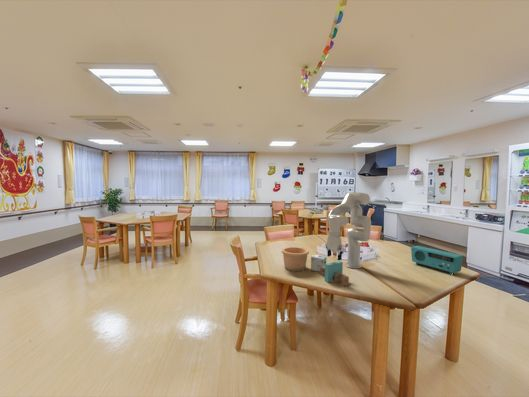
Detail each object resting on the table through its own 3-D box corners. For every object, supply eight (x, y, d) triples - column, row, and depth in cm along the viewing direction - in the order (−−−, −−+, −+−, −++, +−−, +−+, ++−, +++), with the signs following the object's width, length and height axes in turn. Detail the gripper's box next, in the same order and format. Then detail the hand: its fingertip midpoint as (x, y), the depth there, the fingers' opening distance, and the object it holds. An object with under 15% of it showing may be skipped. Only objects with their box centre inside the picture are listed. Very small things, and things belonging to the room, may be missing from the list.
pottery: (306, 274, 180) (306, 255, 179) (278, 270, 187) (278, 252, 186) (310, 265, 200) (310, 248, 199) (284, 262, 207) (285, 245, 207)
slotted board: (320, 274, 178) (320, 266, 178) (323, 274, 180) (323, 266, 179) (345, 286, 157) (345, 277, 157) (348, 285, 159) (348, 276, 159)
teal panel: (327, 282, 164) (328, 265, 163) (324, 280, 167) (325, 264, 166) (342, 278, 171) (342, 262, 170) (339, 277, 173) (339, 261, 173)
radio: (409, 263, 205) (410, 246, 205) (416, 262, 210) (417, 245, 209) (455, 277, 175) (456, 257, 174) (462, 275, 180) (463, 255, 179)
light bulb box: (326, 270, 189) (326, 256, 188) (324, 272, 183) (324, 258, 182) (313, 267, 194) (313, 254, 194) (310, 270, 188) (310, 256, 188)
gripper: (321, 232, 173) (321, 255, 174) (340, 237, 158) (339, 262, 159) (329, 231, 176) (329, 254, 178) (348, 235, 161) (347, 260, 162)
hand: (334, 257), depth 168 cm, fingers open, 9 cm apart
